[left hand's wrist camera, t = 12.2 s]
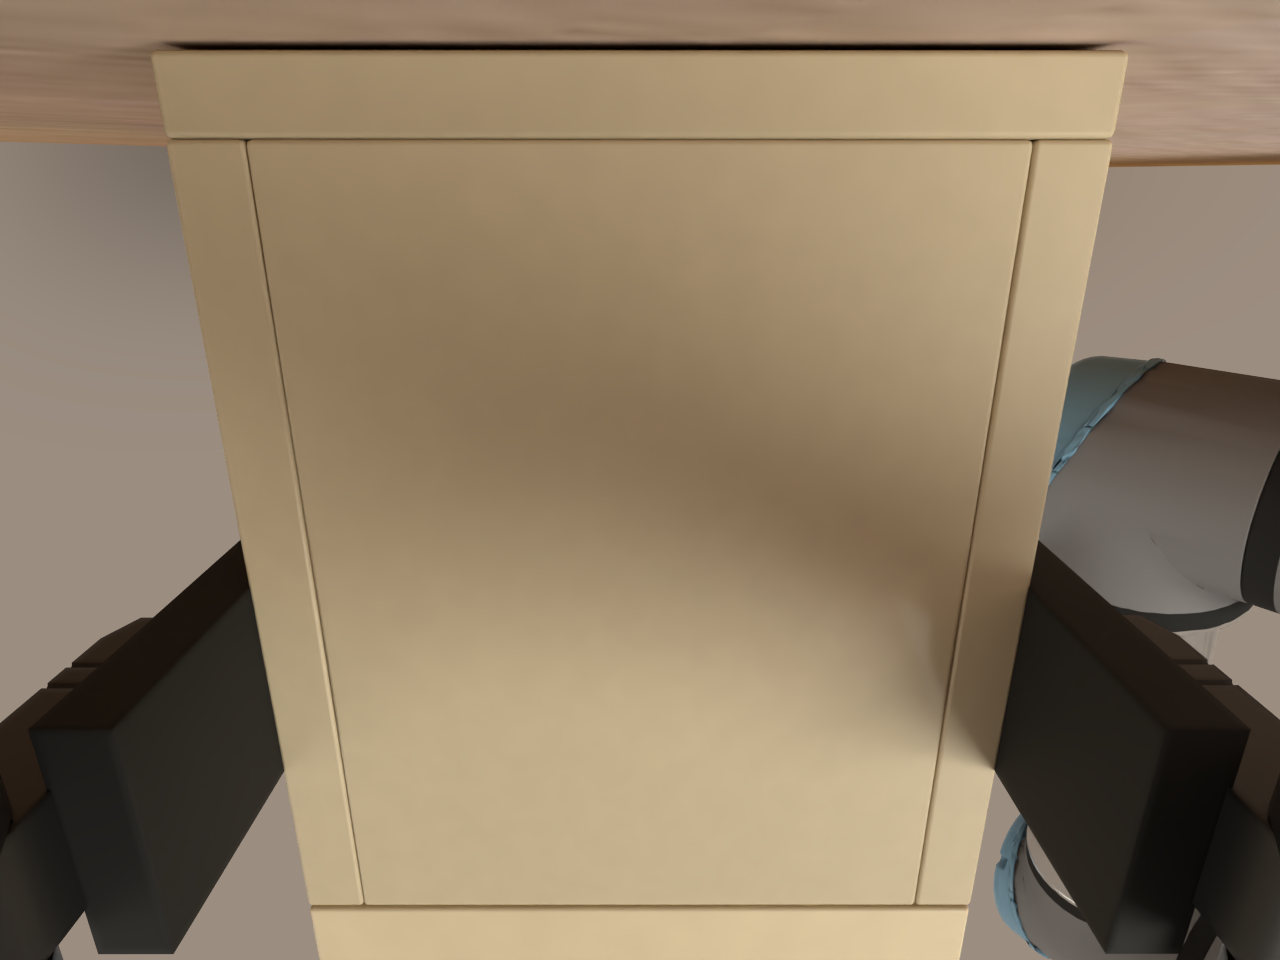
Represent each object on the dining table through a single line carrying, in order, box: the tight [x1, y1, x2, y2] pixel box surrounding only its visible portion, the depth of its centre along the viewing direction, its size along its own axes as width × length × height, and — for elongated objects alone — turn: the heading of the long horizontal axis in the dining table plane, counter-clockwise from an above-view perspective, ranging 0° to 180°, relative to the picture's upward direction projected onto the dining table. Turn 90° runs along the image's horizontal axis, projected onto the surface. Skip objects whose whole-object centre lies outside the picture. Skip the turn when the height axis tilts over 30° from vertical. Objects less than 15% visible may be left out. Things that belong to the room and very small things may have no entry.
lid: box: [311, 900, 968, 960], centre depth 19 cm, size 14×9×8 cm
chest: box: [151, 50, 1128, 905], centre depth 16 cm, size 13×9×11 cm
